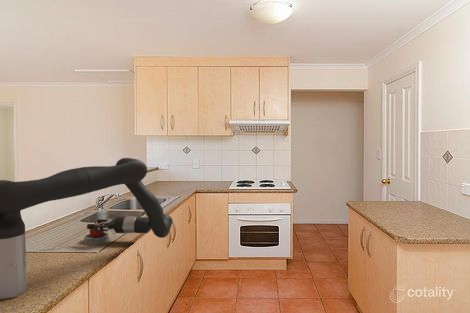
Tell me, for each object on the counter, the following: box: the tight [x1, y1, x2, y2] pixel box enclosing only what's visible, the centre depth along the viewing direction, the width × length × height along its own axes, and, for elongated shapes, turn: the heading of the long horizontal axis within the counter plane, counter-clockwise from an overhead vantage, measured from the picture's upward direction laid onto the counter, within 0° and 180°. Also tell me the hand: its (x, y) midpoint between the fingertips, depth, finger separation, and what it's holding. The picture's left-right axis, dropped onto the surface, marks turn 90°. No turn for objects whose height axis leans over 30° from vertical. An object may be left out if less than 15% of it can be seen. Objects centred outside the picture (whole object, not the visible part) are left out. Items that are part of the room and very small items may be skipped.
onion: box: [89, 221, 105, 238], centre depth 145 cm, size 6×6×8 cm
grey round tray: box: [83, 231, 110, 245], centre depth 146 cm, size 10×10×2 cm
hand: (92, 224), depth 145 cm, fingers open, 8 cm apart
